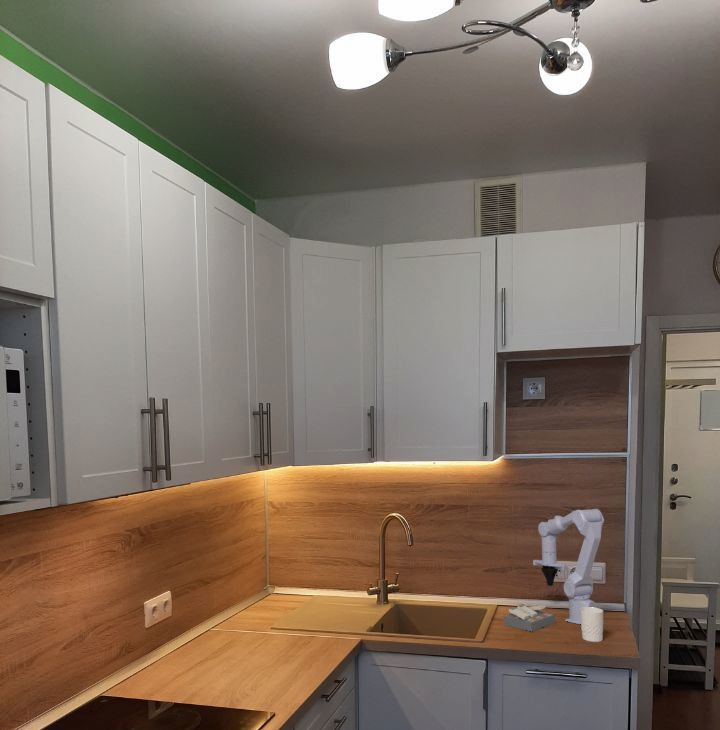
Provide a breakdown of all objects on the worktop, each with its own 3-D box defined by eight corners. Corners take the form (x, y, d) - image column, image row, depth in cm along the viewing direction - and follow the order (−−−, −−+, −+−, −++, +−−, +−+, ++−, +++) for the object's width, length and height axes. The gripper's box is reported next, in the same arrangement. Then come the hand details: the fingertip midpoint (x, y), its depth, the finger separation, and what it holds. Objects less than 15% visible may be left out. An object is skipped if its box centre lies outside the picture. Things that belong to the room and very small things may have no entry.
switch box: (555, 623, 248) (554, 613, 249) (531, 632, 237) (531, 621, 238) (528, 616, 257) (527, 606, 257) (504, 624, 246) (503, 614, 247)
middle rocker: (537, 615, 247) (538, 612, 247) (531, 617, 245) (532, 614, 244) (522, 606, 252) (523, 603, 252) (516, 608, 250) (517, 605, 250)
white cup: (576, 639, 230) (575, 609, 231) (587, 634, 235) (586, 605, 236) (598, 644, 224) (596, 614, 225) (608, 639, 229) (607, 609, 230)
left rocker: (529, 618, 243) (530, 614, 243) (523, 620, 241) (524, 616, 241) (513, 609, 249) (514, 606, 249) (508, 611, 246) (508, 608, 246)
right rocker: (545, 607, 251) (544, 604, 251) (540, 609, 248) (539, 605, 249) (530, 609, 256) (529, 605, 256) (525, 611, 253) (524, 607, 254)
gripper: (528, 550, 271) (529, 583, 270) (559, 555, 261) (560, 590, 259) (538, 548, 276) (539, 581, 275) (568, 553, 265) (570, 587, 264)
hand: (550, 585), depth 267 cm, fingers closed
